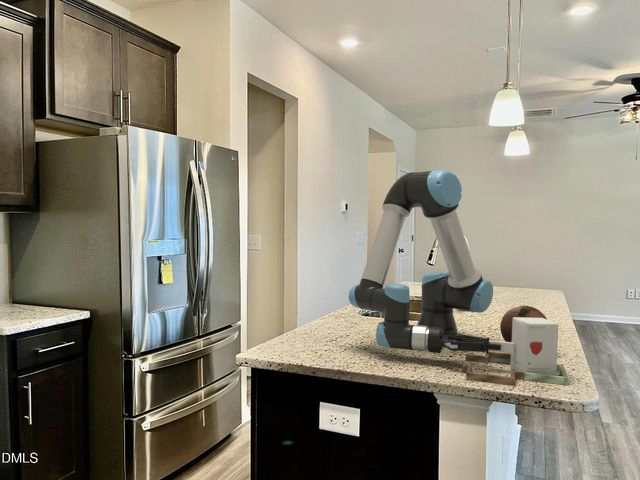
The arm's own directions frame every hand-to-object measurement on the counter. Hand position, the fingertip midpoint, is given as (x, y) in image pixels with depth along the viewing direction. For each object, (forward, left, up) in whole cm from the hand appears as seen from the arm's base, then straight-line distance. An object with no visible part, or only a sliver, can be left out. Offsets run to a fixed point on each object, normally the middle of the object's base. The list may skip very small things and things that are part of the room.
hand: (513, 347), depth 137 cm
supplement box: (+5, +1, -7) cm, 9 cm away
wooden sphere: (+4, +27, -7) cm, 28 cm away
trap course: (0, +1, -7) cm, 7 cm away
